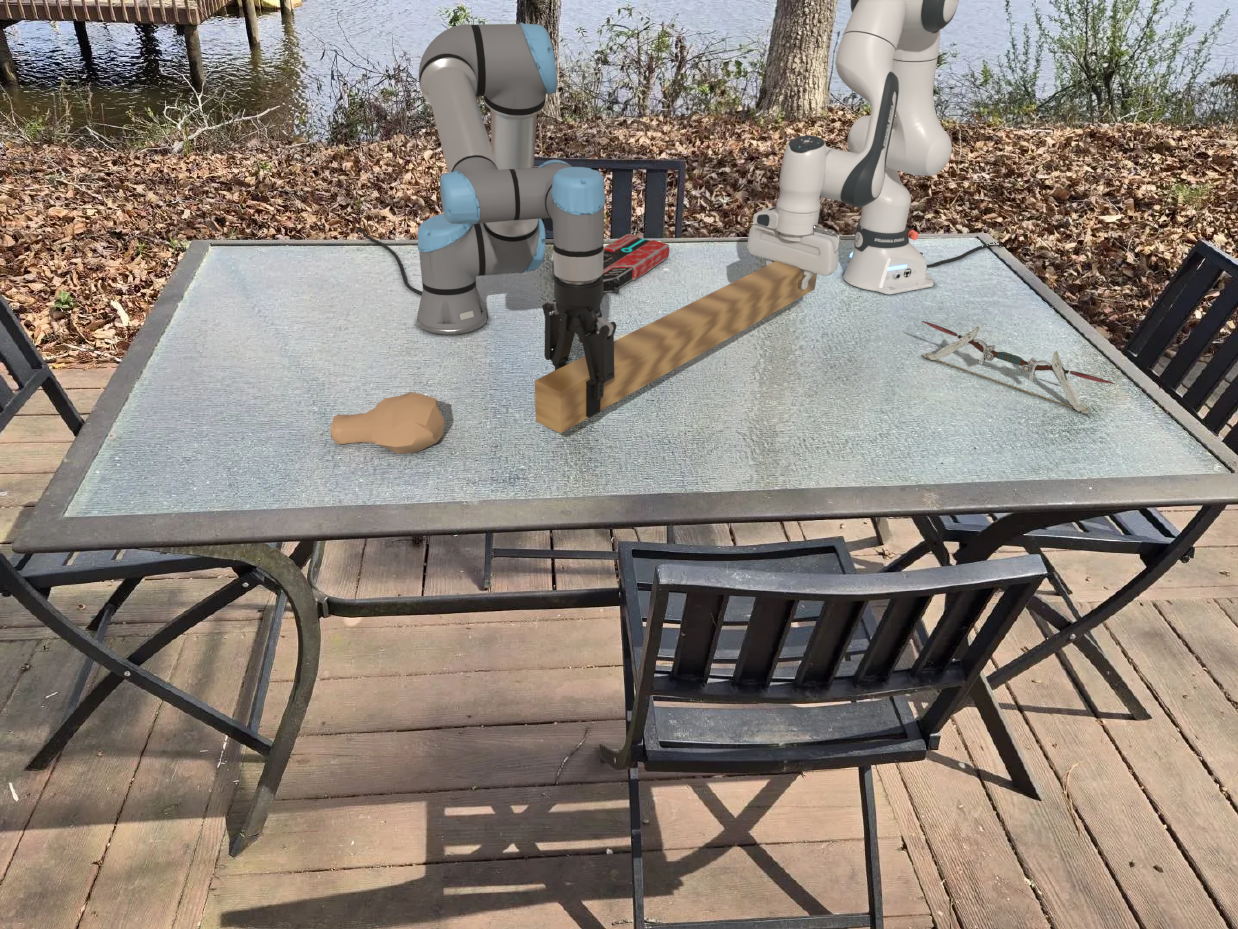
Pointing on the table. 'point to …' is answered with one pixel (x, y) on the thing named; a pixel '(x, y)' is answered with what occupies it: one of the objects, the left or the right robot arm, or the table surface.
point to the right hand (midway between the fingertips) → (787, 283)
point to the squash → (393, 424)
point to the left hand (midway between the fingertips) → (578, 407)
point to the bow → (1026, 366)
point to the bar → (669, 343)
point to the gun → (629, 260)
